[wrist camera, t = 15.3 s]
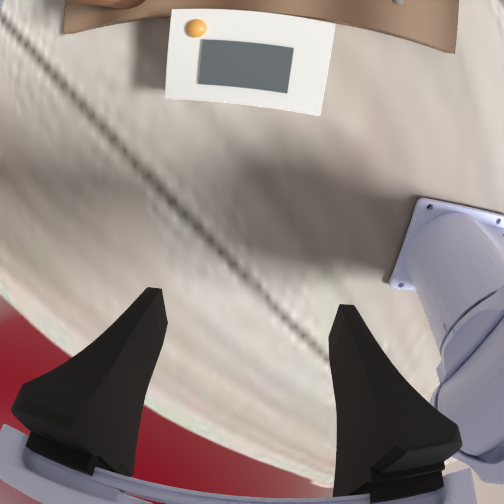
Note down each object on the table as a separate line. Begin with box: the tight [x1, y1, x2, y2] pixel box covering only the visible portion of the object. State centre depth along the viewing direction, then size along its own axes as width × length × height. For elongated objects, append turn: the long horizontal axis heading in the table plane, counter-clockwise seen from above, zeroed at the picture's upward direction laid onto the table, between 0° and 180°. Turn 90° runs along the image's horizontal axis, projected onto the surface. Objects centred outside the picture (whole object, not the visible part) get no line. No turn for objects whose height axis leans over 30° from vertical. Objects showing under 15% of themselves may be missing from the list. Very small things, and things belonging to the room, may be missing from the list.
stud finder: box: [165, 9, 336, 116], centre depth 15 cm, size 8×5×4 cm, turn 84°
